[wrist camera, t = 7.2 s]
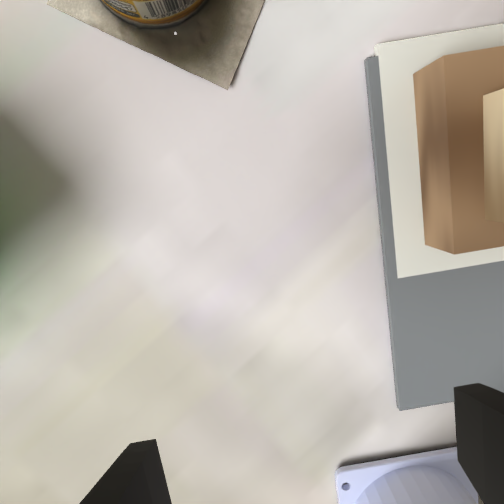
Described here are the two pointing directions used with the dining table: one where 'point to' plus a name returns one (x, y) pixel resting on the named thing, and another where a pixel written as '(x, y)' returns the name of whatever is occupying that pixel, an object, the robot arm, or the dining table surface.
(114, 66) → the dining table surface
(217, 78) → the condiment
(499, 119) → the maple cube
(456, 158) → the walnut base
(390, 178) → the mat
